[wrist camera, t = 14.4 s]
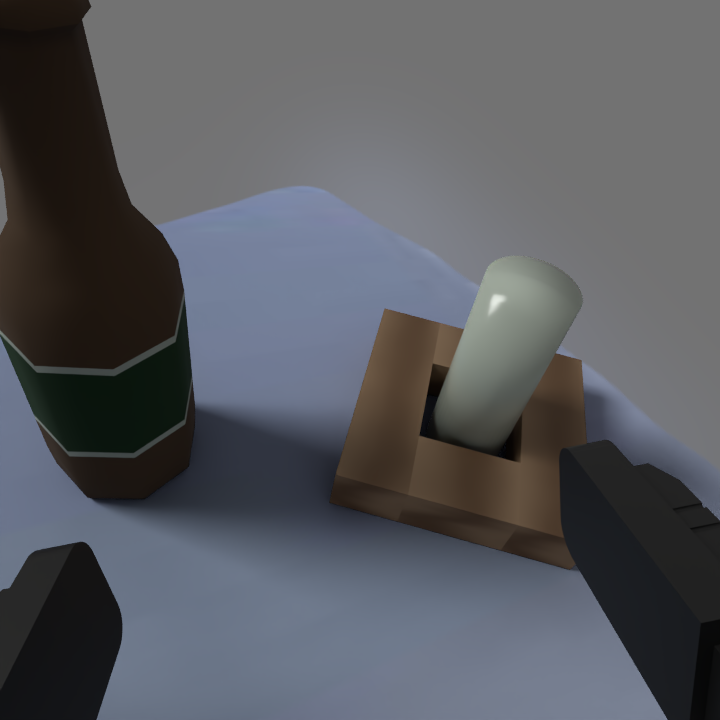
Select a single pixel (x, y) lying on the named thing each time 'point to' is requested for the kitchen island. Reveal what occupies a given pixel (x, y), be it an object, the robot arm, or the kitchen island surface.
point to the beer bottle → (85, 271)
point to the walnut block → (457, 449)
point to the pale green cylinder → (503, 352)
